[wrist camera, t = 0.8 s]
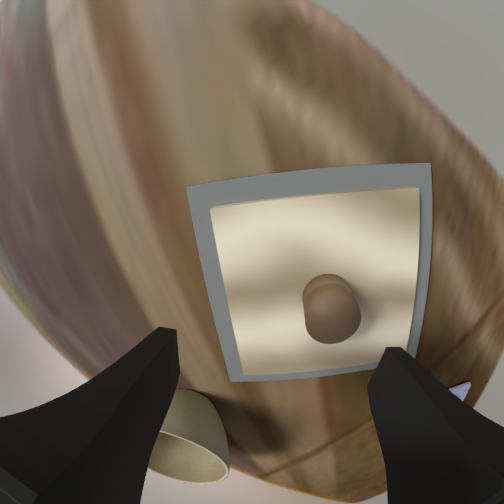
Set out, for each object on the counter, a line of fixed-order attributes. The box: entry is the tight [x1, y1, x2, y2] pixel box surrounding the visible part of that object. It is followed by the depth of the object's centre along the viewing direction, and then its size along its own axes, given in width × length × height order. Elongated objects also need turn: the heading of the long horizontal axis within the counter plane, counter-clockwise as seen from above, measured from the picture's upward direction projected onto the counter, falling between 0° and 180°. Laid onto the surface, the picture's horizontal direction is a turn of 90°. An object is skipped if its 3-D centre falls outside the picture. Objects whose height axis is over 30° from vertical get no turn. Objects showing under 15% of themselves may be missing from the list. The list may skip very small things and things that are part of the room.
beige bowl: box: [147, 389, 229, 484], centre depth 21 cm, size 10×10×7 cm
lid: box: [210, 187, 420, 375], centre depth 16 cm, size 13×13×4 cm
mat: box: [186, 163, 432, 382], centre depth 18 cm, size 16×16×1 cm
